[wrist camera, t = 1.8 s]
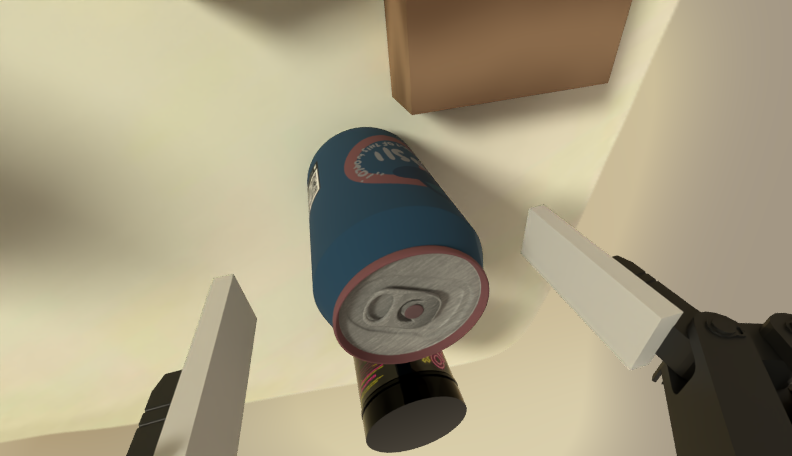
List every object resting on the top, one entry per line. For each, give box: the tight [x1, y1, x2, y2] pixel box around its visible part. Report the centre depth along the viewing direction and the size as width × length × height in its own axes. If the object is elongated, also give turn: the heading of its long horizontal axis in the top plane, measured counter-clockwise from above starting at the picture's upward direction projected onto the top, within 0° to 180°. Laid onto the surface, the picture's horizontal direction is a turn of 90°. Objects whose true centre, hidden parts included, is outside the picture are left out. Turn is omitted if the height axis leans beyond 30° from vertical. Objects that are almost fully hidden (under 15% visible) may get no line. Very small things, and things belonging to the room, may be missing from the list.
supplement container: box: [353, 351, 467, 453], centre depth 24 cm, size 7×7×10 cm
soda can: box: [307, 127, 489, 364], centre depth 16 cm, size 7×7×12 cm
